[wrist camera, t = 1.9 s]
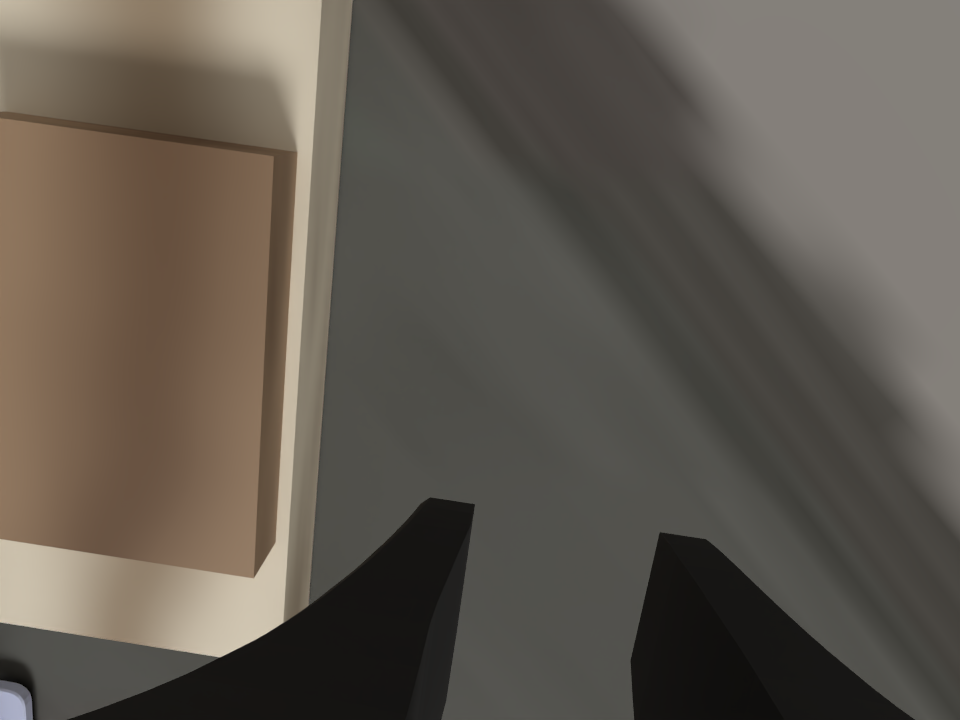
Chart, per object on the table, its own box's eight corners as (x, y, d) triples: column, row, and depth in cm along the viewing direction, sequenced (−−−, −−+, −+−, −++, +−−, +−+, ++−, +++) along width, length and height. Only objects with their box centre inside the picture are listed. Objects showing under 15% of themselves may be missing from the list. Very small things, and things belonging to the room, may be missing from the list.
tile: (28, 504, 19) (-15, 537, 17) (7, 111, 16) (-45, 111, 15) (275, 542, 19) (253, 578, 17) (297, 152, 16) (273, 155, 14)
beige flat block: (47, 565, 22) (-12, 620, 20) (18, -62, 17) (-65, -89, 15) (308, 606, 22) (280, 666, 20) (353, -17, 17) (323, -38, 15)
